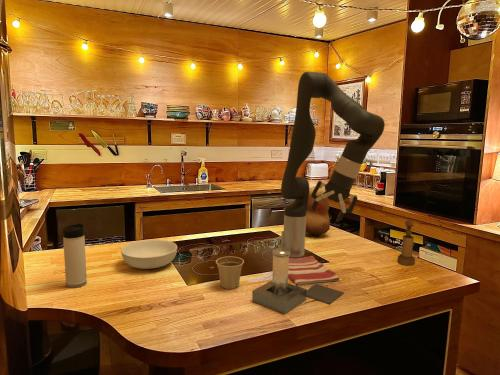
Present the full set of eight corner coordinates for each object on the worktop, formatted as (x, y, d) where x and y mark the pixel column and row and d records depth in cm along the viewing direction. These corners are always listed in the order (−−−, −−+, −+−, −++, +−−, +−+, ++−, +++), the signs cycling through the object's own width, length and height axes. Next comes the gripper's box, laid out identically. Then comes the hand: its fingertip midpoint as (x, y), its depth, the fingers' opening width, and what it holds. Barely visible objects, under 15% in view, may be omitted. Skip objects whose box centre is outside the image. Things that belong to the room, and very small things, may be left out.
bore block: (252, 301, 111) (252, 290, 111) (274, 288, 120) (275, 278, 120) (284, 314, 104) (285, 302, 103) (306, 299, 113) (306, 289, 112)
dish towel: (312, 260, 149) (312, 254, 149) (341, 283, 127) (341, 276, 127) (273, 263, 145) (274, 257, 145) (296, 288, 123) (296, 280, 122)
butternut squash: (301, 238, 179) (303, 188, 175) (302, 231, 192) (304, 184, 188) (329, 240, 177) (332, 189, 173) (328, 232, 190) (331, 185, 186)
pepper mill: (416, 266, 144) (420, 222, 141) (399, 265, 145) (402, 221, 142) (412, 260, 150) (416, 218, 147) (395, 259, 151) (399, 217, 149)
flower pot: (222, 293, 116) (222, 268, 115) (211, 282, 124) (211, 258, 123) (248, 288, 120) (248, 263, 119) (236, 278, 129) (236, 254, 127)
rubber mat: (301, 294, 116) (301, 293, 116) (316, 285, 124) (316, 283, 124) (329, 304, 110) (329, 303, 110) (343, 293, 118) (343, 292, 118)
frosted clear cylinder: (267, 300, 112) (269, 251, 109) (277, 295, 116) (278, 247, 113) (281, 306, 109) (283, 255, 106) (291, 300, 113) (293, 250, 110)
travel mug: (91, 281, 123) (88, 224, 120) (76, 289, 117) (73, 229, 114) (77, 278, 125) (74, 222, 122) (61, 286, 119) (58, 227, 116)
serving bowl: (109, 269, 134) (108, 251, 133) (145, 252, 153) (145, 237, 152) (155, 279, 127) (155, 260, 126) (187, 260, 146) (187, 243, 145)
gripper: (324, 165, 114) (304, 210, 119) (367, 183, 112) (345, 228, 117) (325, 162, 121) (306, 204, 126) (365, 178, 119) (345, 221, 124)
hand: (325, 215), depth 122 cm, fingers open, 8 cm apart
